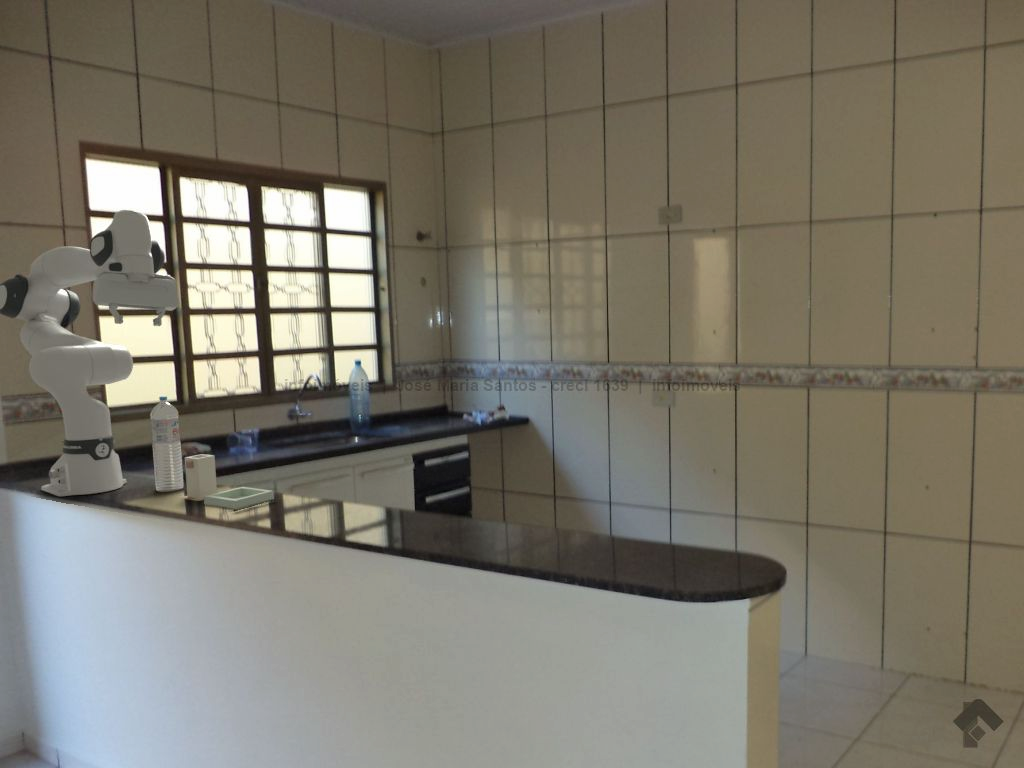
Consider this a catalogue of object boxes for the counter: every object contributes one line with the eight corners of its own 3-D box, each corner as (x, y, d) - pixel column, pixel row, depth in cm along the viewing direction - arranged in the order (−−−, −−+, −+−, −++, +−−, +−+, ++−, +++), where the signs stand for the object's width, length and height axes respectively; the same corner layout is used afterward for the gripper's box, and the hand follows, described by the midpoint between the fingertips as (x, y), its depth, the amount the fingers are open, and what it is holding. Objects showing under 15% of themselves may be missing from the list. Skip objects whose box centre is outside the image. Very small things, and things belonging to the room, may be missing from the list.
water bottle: (171, 487, 224) (164, 395, 222) (189, 489, 221) (183, 395, 219) (150, 492, 218) (142, 397, 216) (169, 494, 215) (161, 398, 213)
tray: (204, 506, 200) (203, 496, 200) (243, 496, 210) (242, 486, 210) (235, 511, 194) (235, 500, 194) (274, 500, 204) (273, 490, 203)
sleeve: (184, 497, 208) (181, 458, 207) (204, 492, 213) (201, 454, 212) (197, 499, 205) (194, 459, 204) (217, 494, 210) (214, 455, 209)
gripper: (171, 279, 221) (174, 329, 219) (88, 271, 207) (91, 325, 205) (180, 272, 217) (184, 323, 215) (97, 263, 203) (100, 318, 201)
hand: (138, 324), depth 210 cm, fingers open, 8 cm apart
